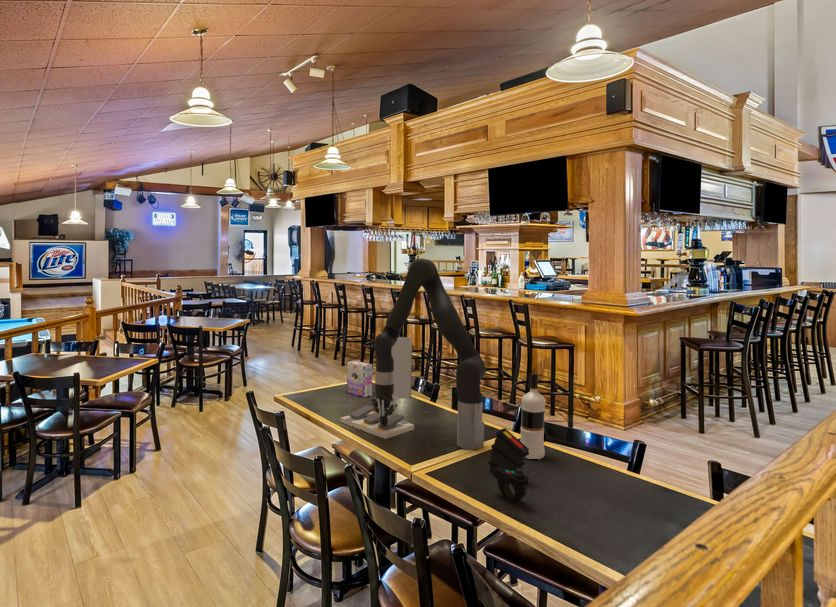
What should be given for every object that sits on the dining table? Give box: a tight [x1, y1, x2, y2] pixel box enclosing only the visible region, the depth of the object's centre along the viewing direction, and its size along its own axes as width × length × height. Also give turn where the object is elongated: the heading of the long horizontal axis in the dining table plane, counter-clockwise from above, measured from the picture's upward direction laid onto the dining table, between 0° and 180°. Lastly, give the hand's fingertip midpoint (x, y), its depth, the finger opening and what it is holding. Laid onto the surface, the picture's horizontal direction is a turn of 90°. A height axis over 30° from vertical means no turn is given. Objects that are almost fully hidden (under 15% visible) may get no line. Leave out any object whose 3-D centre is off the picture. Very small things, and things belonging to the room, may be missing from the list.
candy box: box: [346, 360, 373, 398], centre depth 264 cm, size 14×6×16 cm, turn 46°
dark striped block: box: [488, 427, 529, 475], centre depth 168 cm, size 4×13×15 cm, turn 45°
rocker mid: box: [363, 411, 380, 424], centre depth 215 cm, size 5×10×1 cm, turn 137°
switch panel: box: [339, 410, 415, 440], centre depth 216 cm, size 28×16×3 cm, turn 47°
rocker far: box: [348, 404, 376, 419], centre depth 222 cm, size 5×10×1 cm, turn 137°
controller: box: [491, 466, 530, 502], centre depth 152 cm, size 4×12×10 cm, turn 39°
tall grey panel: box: [392, 336, 413, 399], centre depth 261 cm, size 14×6×30 cm, turn 84°
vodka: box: [519, 372, 546, 460], centre depth 185 cm, size 9×9×30 cm
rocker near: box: [378, 412, 405, 430], centre depth 209 cm, size 5×10×1 cm, turn 137°
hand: (383, 424), depth 207 cm, fingers closed
